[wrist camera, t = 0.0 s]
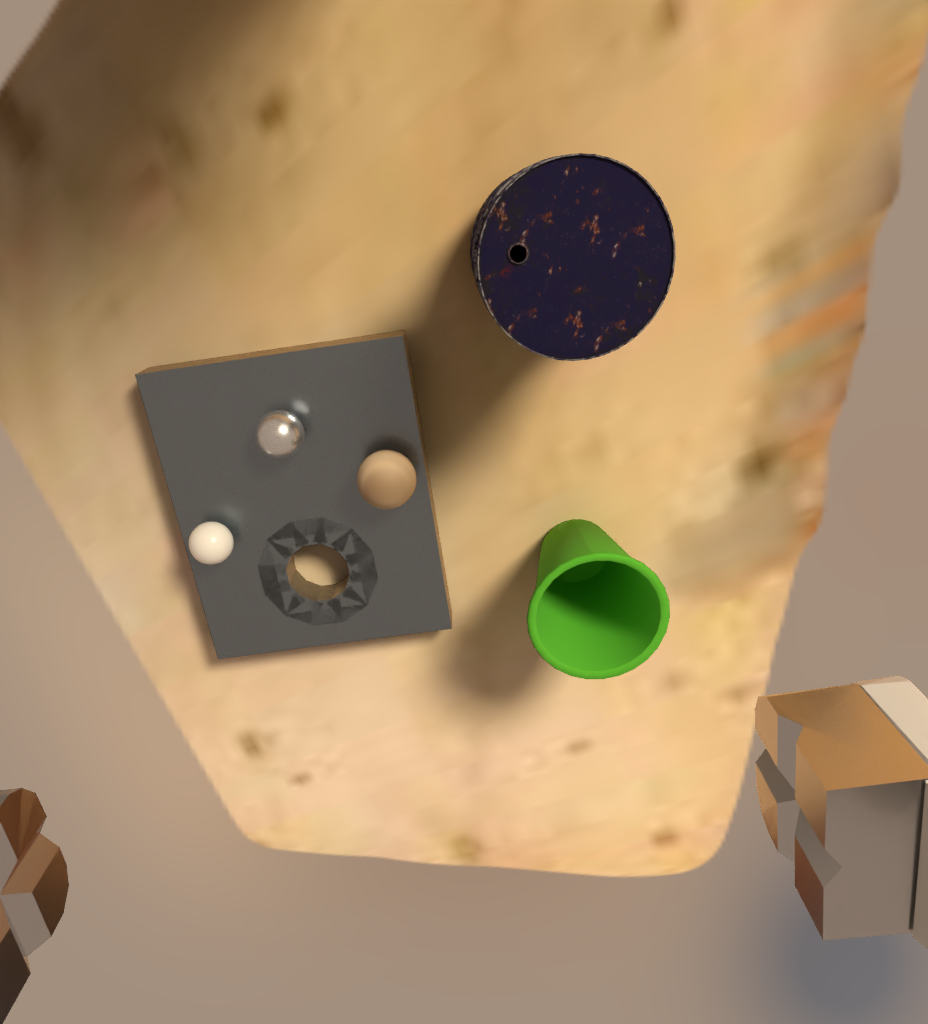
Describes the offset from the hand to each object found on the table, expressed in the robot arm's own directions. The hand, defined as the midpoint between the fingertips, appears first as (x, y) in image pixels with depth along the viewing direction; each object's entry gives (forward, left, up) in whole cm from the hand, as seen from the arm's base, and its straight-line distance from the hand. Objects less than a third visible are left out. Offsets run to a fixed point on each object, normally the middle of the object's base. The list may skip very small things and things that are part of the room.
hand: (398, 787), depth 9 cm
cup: (+19, +7, -48) cm, 52 cm away
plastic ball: (+13, -19, -44) cm, 50 cm away
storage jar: (-3, +7, -48) cm, 49 cm away
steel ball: (+6, -12, -44) cm, 46 cm away
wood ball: (+10, -6, -44) cm, 45 cm away
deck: (+12, -12, -48) cm, 51 cm away
